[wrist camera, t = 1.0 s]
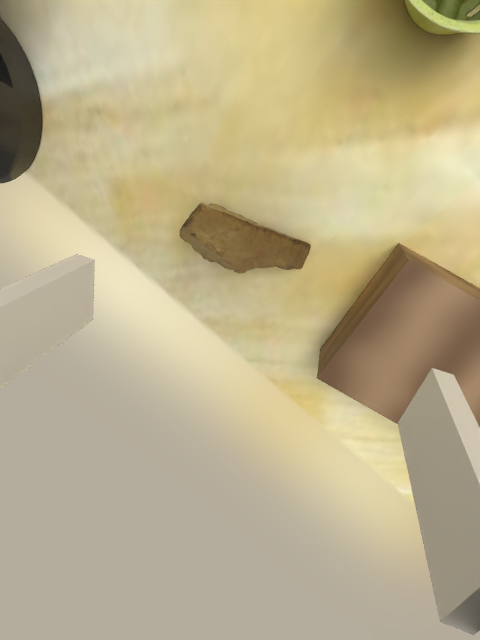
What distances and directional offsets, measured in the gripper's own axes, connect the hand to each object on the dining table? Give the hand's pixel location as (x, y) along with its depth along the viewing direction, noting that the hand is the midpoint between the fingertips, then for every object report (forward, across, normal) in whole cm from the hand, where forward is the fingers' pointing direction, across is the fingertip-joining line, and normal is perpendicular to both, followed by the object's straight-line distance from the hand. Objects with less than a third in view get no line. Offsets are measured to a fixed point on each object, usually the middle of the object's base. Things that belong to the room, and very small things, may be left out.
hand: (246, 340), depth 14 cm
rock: (+20, -4, -2) cm, 21 cm away
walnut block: (+19, +14, -6) cm, 25 cm away
